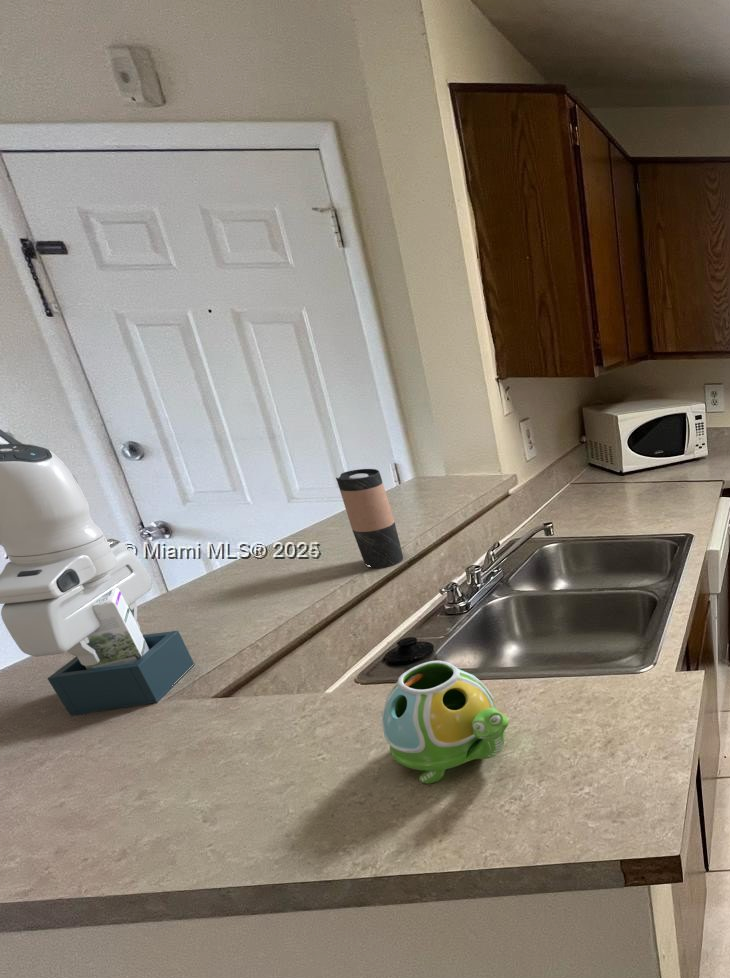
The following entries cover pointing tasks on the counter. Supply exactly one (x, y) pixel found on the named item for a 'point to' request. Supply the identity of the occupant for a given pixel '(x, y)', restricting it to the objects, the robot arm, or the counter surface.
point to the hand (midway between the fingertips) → (113, 647)
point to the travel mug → (370, 517)
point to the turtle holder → (441, 720)
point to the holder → (124, 678)
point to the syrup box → (116, 632)
